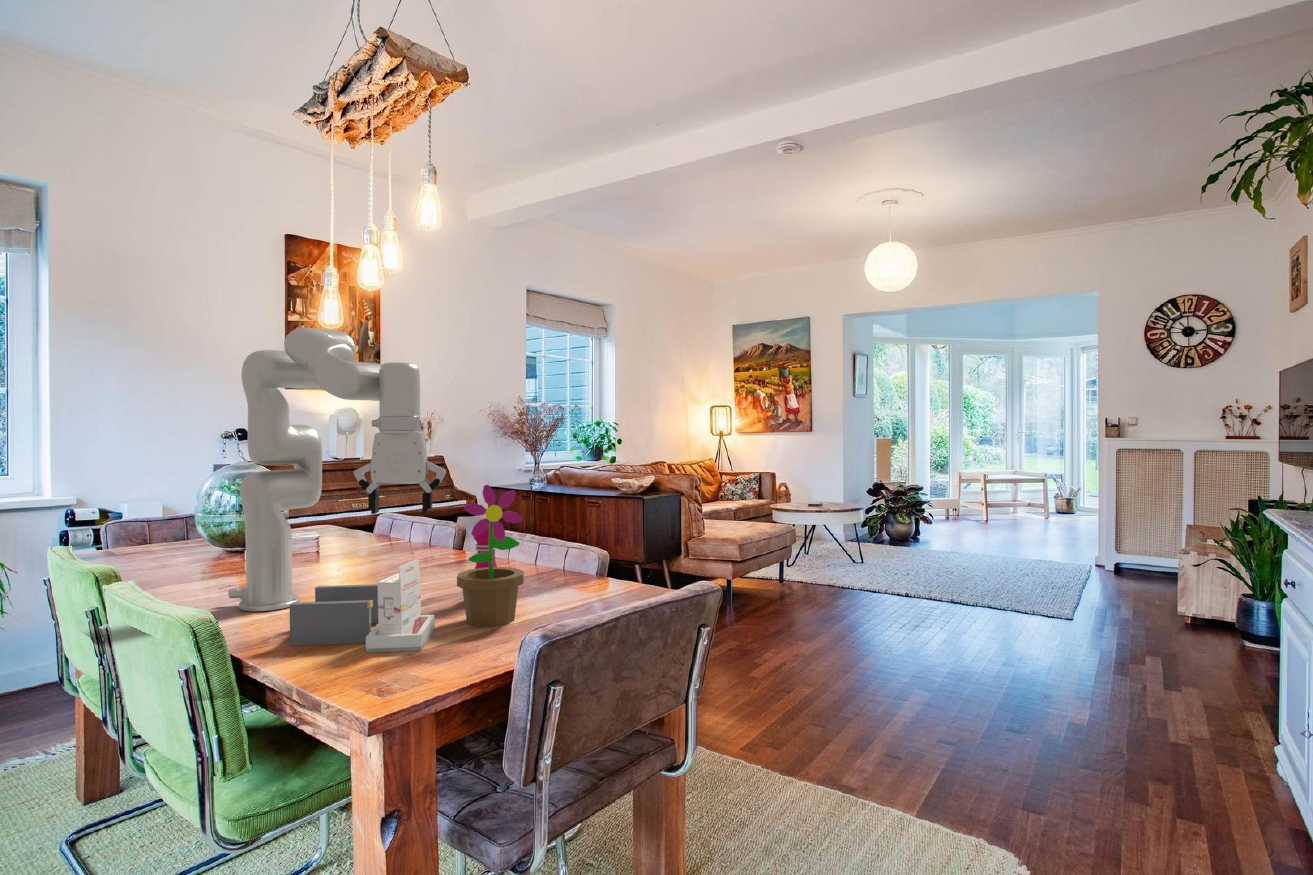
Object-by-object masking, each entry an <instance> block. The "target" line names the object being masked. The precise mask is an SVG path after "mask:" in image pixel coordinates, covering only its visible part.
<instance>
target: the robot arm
mask: <svg viewBox="0 0 1313 875" xmlns="http://www.w3.org/2000/svg"><path fill="white" fill-rule="evenodd" d="M283 347H284V348H283V349H284V350H279V349H278V350H277V349H265V350H264V349H263V350H256V351H253V352H251V353H249V354H248V355H247V356H246V358H244V361H243V363H242V367H241V375H240V376H241V384H242V387H243V391H244V395H245V399H246V403H247V404H246V405H247V453H248V456H249V459H250V461H251V462H252V463H254V464H258V465H261V466H262V465H263V466H275V465H277V466H278V465H279V466H281V465H293V469H278V470H277V469H276V470H275V469H274V470H262V471H257V472H253V473H250V474H248V475H247V476H245V477H244V478H243V479H242V481H241V483H240V486H239V496H240V500H241V505H242V510H243V516H244V528H245V529H244V533H245V581H246V582H245V583H246V584H245V587H243V588H230V589H228V593H227V594H228V598H229V599H240V600H241V601H239V603H238V608H239V610H240V611H245V612H268V611H276V610H281V609H286V608H290V604H292V603H299V602H300V600H301V598H300V596H299V595H297V594H293V551H292V550H293V547H292V546H293V545H292V544H293V541H292V540H293V539H292V538H293V537H292V534H293V533H292V532H293V531H292V528H291V525H290V523H289V521H288V520H287V519H286V517H285V516H284V515H283V514H282V511H286V510H297V509H304V508H305V509H307V508H310V507H313V506H315V505H316V504H317V503H318V502H319V500H320V499H321V495H322V488H323V487H322V486H323V444H322V438H321V436H320V434H319V433H318V431H317V430H316V429H315V428H314V427H312V426H311V425H306V424H291V422H290V405H289V402H288V400H287V399H286V397H285V396H284V395H283V393H282V391H280V389H279V388H281V389H298V390H299V389H301V390H318V389H321V390H322V391H325V392H327V393H328V394H331V395H332V396H334V397H336V398H339V399H342V400H347V401H373V402H378V403H379V405H378V406H379V416H378V418H377V419H372V420H371V426H372V427H373V428H377V429H378V431H379V432H375V433H374V437H373V440H372V441H373V443H372V448H371V449H372V450H371V459H370V460H371V461H370V462H369V463H366V464H364V465H363V466H361V467H359V468H357V469H355V470H354V471H353V476H354V477H355V478H356V481H357V482H358V485H359V486H360V487H362V488H363V490H365V492H366V493H367V497H368V498H367V500H368V503H367V504H368V509H369V510H370V514H371V515H375V514H377V513H379V512H380V493H379V492H378V489H379V488H380V486H381V485H414V484H418V485H419V486H420V487H421V488H422V489H423V493H422V495H421V496H422V497H421V498H422V500H421V502H422V507H421V508H422V513H423V514H427V513H429V512H430V509H432V508H433V491H434V490H435V489H436V488H437V487H438V486H439V485H440V484H441V483H442V480H443V479H444V477H445V475H446V474H447V470H446V469H444V468H443V467H441V466H438V465H437V464H434V463H433V462H430V461H428V451H427V443H426V438H425V434H424V432H421V384H420V383H421V371H420V368H419V366H418V365H416V364H415V363H413V362H412V363H411V362H399V361H397V362H395V361H394V362H393V361H392V362H391V361H390V362H386V363H375V362H363V361H356V353H357V349H356V345H355V343H354V340H353V339H352V337H351V336H349V335H348V334H347V333H345V332H342V331H340V330H333V329H325V328H317V327H315V328H314V327H299V328H296V329H294V330H291V331H290V332H289V333H288V334H287V335H286V337H285V338H284V341H283ZM429 470H430V471H431V472H433V473H435V474H436V476H435V478H434V479H433V481H432V482H430V480H428V477H429ZM367 472H370V480H371V482H369V480H368V479H366V477H365V473H367Z"/></svg>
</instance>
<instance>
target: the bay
mask: <svg viewBox="0 0 1313 875" xmlns="http://www.w3.org/2000/svg"><path fill="white" fill-rule="evenodd" d="M372 624H378V588H377V583H375V584H373V583H372V584H347V585H346V584H345V585H339V584H338V585H317V586H316V587H314V601H303V602H299V603H292V604H290V607H289V646H290V647H300V646H302V647H304V646H329V645H349V644H351V645H352V644H353V645H354V644H366V636H367V635H368V634H369V633H370V632H371V631H372Z"/></svg>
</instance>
